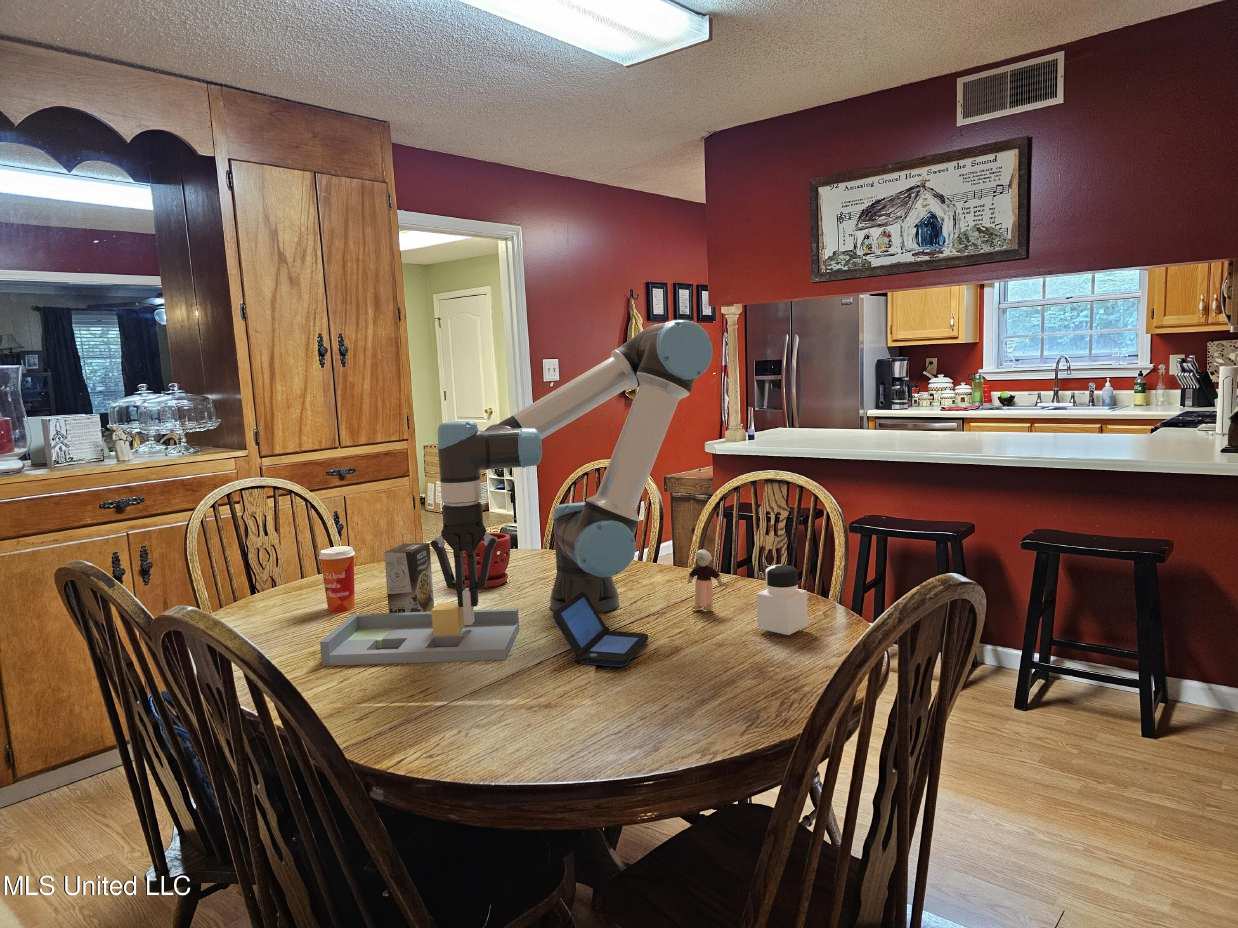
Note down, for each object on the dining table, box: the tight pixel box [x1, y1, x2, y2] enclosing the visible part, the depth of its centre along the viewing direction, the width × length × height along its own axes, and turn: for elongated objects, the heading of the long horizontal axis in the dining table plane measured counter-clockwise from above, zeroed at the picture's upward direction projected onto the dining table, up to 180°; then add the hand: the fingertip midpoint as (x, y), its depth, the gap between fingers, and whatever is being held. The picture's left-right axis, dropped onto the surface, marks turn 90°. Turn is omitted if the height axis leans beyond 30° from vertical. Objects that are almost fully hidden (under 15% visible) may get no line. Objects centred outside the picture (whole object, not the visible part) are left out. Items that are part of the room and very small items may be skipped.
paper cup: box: [318, 545, 356, 613], centre depth 180 cm, size 8×8×14 cm
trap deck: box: [319, 608, 520, 667], centre depth 153 cm, size 34×16×4 cm, turn 88°
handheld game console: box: [552, 592, 649, 667], centre depth 147 cm, size 16×13×9 cm
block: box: [431, 601, 465, 636], centre depth 155 cm, size 5×5×5 cm
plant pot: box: [463, 532, 511, 589], centre depth 198 cm, size 13×13×12 cm
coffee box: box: [384, 542, 435, 613], centre depth 169 cm, size 9×6×16 cm
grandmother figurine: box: [686, 549, 724, 611], centre depth 169 cm, size 8×4×13 cm, turn 76°
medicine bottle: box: [756, 564, 809, 636], centre depth 155 cm, size 7×7×12 cm
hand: (469, 622), depth 155 cm, fingers closed
